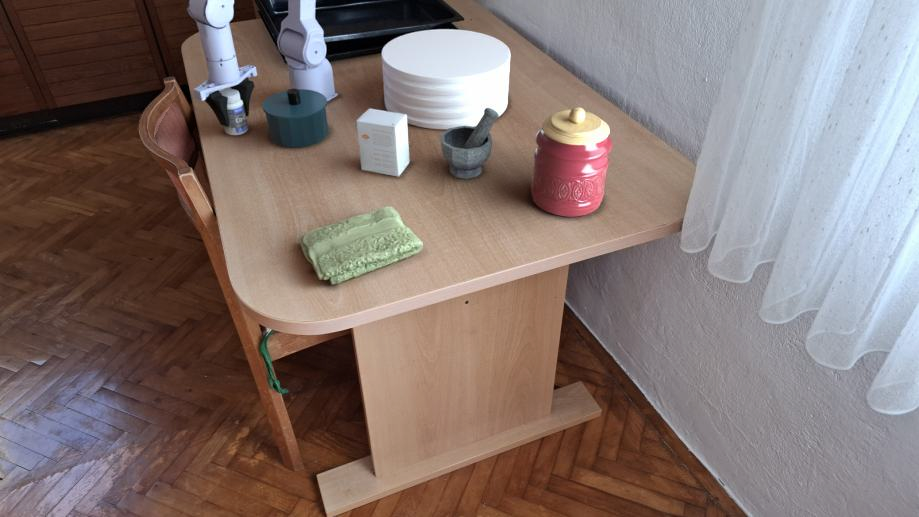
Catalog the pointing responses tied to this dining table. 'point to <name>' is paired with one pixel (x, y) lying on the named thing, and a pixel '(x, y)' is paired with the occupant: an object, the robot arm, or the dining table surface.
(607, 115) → the dining table surface
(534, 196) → the kitchen canister
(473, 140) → the mortar and pestle
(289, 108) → the pot lid
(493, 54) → the plate stack
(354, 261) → the washcloth
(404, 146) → the small box
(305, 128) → the pot
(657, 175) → the dining table surface
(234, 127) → the pill bottle
